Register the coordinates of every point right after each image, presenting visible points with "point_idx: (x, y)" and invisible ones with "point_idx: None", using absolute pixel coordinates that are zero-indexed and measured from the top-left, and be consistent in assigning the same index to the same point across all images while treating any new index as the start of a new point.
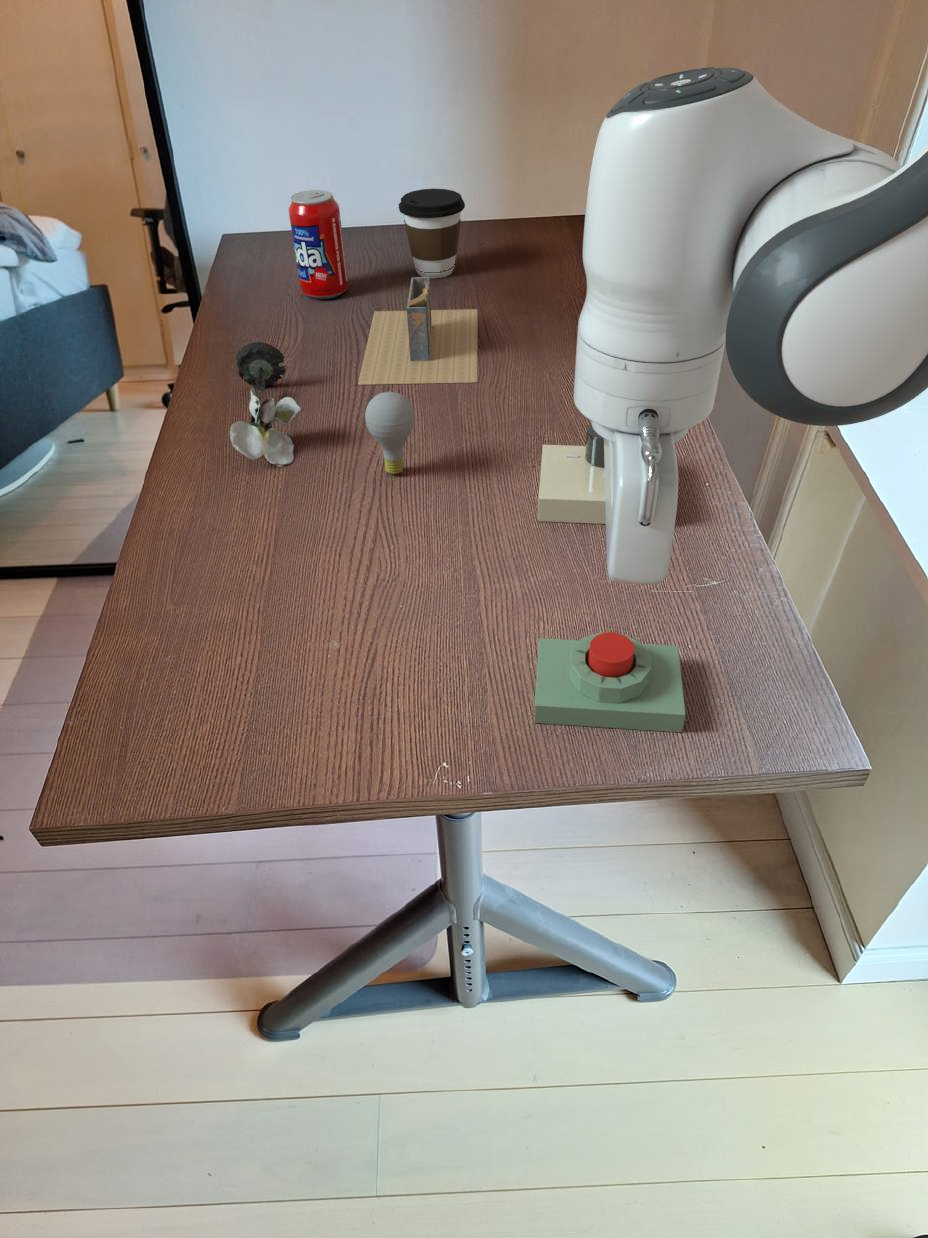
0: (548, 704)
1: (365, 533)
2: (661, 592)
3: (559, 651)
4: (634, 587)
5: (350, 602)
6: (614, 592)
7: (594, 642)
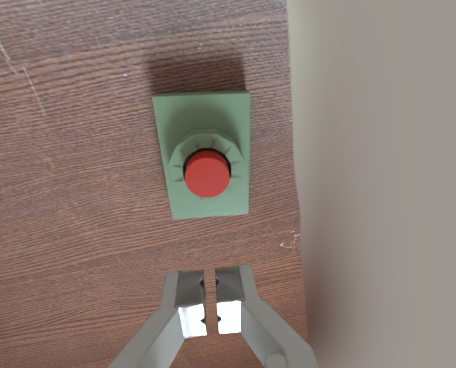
0: (246, 205)
1: (73, 326)
2: (42, 104)
3: (185, 203)
4: (47, 133)
5: (150, 315)
6: (65, 153)
7: (203, 194)
